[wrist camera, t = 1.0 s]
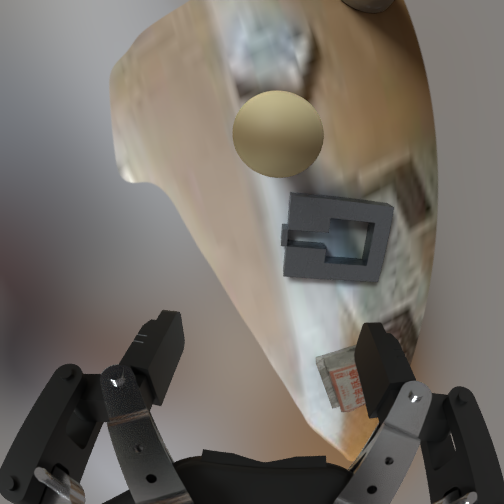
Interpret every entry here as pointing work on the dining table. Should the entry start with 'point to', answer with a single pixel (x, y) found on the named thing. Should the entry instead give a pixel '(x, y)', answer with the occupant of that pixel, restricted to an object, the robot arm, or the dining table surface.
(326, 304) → the dining table surface
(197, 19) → the dining table surface
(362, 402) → the packaged product
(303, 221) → the keyhole plate
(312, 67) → the dining table surface
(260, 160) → the walnut peg
